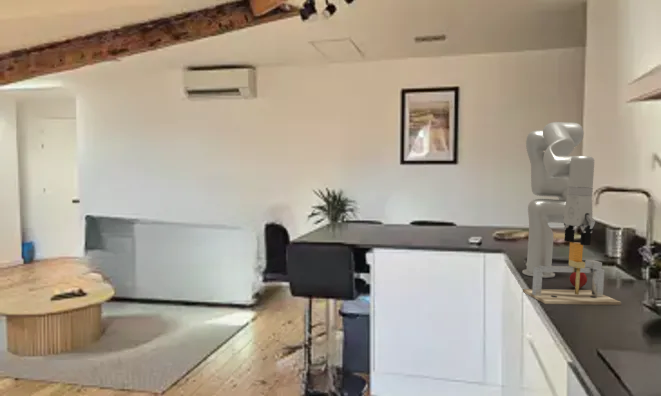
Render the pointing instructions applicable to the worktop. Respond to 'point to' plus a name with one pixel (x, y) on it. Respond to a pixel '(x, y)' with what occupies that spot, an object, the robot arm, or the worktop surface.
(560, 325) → the worktop surface
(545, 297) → the bolt plate
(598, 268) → the grey arch frame
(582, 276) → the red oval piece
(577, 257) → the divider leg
